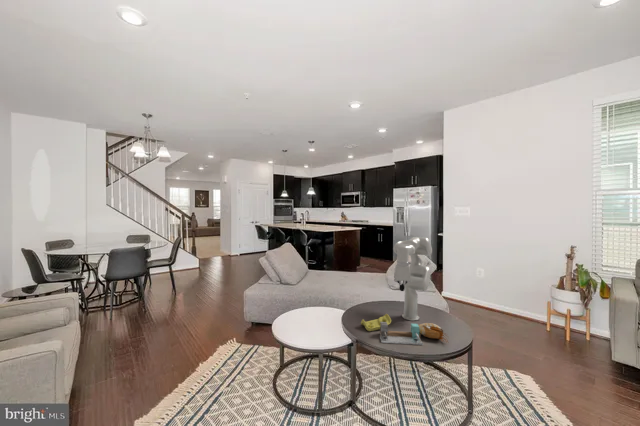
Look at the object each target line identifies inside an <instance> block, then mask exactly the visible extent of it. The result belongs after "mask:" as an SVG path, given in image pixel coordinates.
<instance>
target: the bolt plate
mask: <svg viewBox="0 0 640 426" xmlns="http://www.w3.org/2000/svg"><path fill="white" fill-rule="evenodd" d="M379 339H380V342H381V343H382V344H396V345H397V344H398V345H399V344H400V345H414V346H416V345H417V346H424V343H423V341H422V339H421V338H420V339H418V340H417V337H400V336H387V337H386V338H385V336H382V335H379Z"/></svg>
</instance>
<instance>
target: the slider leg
mask: <svg viewBox="0 0 640 426" xmlns="http://www.w3.org/2000/svg"><path fill="white" fill-rule="evenodd" d="M418 325H419V324H418V323H413V322H412V323H410V332H412V337H417V340H418V339H421V337H420V338H419V326H418Z"/></svg>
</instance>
